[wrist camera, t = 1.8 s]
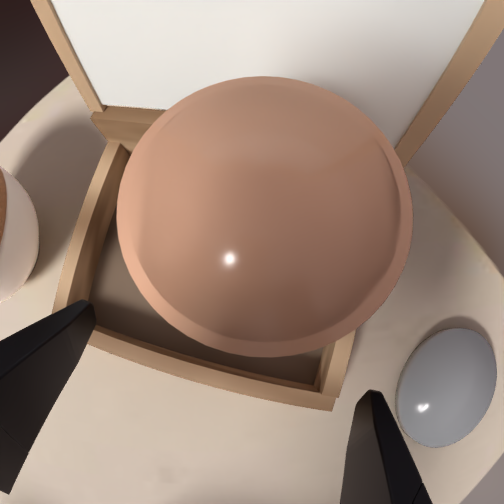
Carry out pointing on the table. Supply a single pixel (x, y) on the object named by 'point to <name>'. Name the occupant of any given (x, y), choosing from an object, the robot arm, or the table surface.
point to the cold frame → (152, 323)
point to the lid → (279, 51)
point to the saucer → (446, 387)
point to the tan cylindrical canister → (264, 216)
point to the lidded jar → (16, 235)
